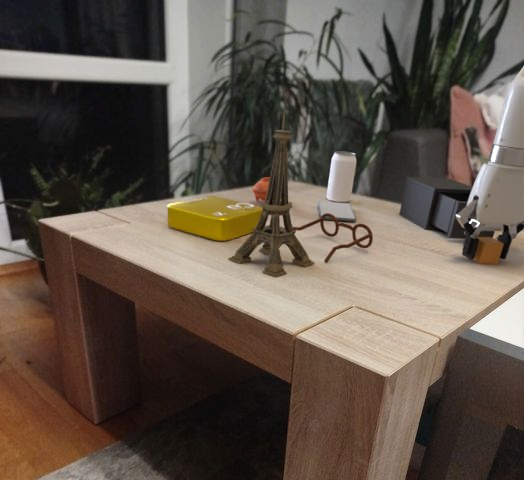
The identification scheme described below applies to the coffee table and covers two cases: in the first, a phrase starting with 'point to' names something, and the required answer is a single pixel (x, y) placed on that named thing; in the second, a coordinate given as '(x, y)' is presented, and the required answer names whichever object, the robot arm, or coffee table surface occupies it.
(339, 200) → the can
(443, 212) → the drawer
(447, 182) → the cabinet
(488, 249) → the block
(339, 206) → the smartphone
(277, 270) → the eiffel tower
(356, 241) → the glasses
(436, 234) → the coffee table surface
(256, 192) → the orange cupcake
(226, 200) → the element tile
